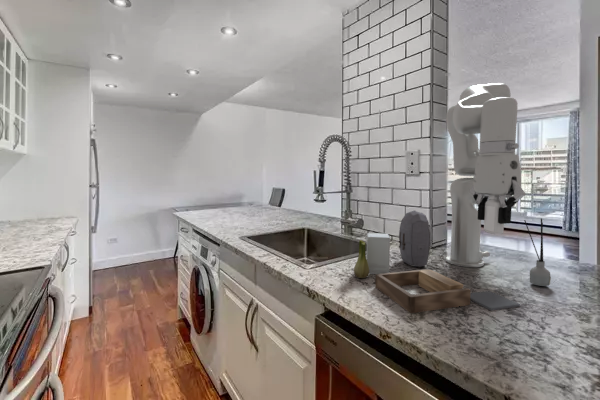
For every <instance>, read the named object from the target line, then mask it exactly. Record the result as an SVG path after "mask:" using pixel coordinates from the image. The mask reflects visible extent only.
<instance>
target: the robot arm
mask: <svg viewBox="0 0 600 400" xmlns="http://www.w3.org/2000/svg"><path fill="white" fill-rule="evenodd" d="M511 95H512V94H511V90H510V87H509V86H508V85H507V84H506V83H502V82H497V83H487V84H477V85H472V86H468V87H467V88H465V89H464V90H463V91H462V92H461V94H460V96H459V101H458V102H457V104H454V105H452V106H451V107H449V108H448V109H447V112H446V114H445V115H446V116H445V118H446V127H447V128H446V129H447V131H448V135H449V137H450V139H451V142H452V149H453V150H452V151H453V155H452V157H453V169H454V173H455V174H456V175H458V176H460V177H461V178H456V179H455V180H453V181H452V182H451V183H450V187H449V191H450V193H449V194H450V199H451V201H450V202H451V230H450V231H451V232H450V234H451V235H450V255H447V256H446V257H445V262H447V263H449V264H451V265H455V266H459V267H465V268H481V267H483V266H484V265H485V261H484V260H483V259H482V258H487V257H490V255H491V254H490V252H489V251H481V232H482V231H481V230H482V229H481V228H482V221H484V216H485V203H486V202H487V201H488V200H490V199H489V195H499V200H500V203H501V206H502V207H499V214H498V223H500V224H505V225H507V224H510V223H511V221H512V208H514V207H515V206H516V204H517V203H518V202H519V201H520V200H521V199H522V198H524V197H526V196H525V195H526V192H525V190H523V188H522V169H521V167H522V166H521V161H520V156H519V154H516V150H517V149H519V143H517V141H516V140H517V139H516V138H517V123H518V121H517V120H518V101H517V99H516V98H514V97H511ZM475 134H477V135H478V134H479V139H478V137H477V136H476V135H475ZM474 205H477V209H476V207H475V206H474Z"/></svg>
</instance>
